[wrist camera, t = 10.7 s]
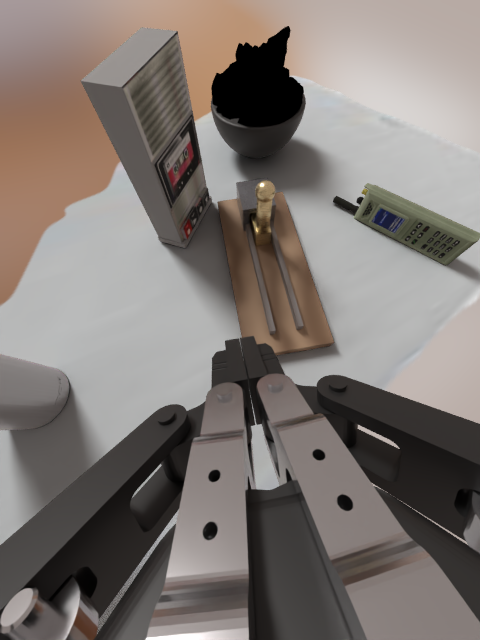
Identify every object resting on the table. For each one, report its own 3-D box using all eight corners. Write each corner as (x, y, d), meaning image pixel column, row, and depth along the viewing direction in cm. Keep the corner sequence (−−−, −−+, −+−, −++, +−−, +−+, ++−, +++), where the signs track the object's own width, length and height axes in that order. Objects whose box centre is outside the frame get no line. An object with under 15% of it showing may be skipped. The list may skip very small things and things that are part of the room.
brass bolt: (255, 248, 44) (257, 191, 33) (247, 215, 47) (246, 153, 36) (271, 245, 44) (278, 188, 33) (262, 213, 47) (265, 150, 36)
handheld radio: (444, 268, 43) (327, 208, 50) (450, 258, 45) (335, 200, 51) (477, 243, 37) (339, 178, 44) (483, 231, 38) (348, 169, 45)
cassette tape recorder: (187, 249, 47) (127, 89, 24) (160, 242, 48) (78, 81, 25) (213, 202, 52) (184, 31, 29) (188, 196, 53) (141, 26, 30)
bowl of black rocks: (227, 185, 54) (216, 75, 37) (209, 135, 62) (194, 24, 44) (308, 167, 55) (335, 53, 38) (281, 120, 63) (294, 7, 46)
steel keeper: (243, 231, 46) (242, 210, 41) (237, 204, 49) (236, 182, 44) (273, 226, 46) (276, 204, 41) (265, 200, 49) (267, 177, 44)
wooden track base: (246, 360, 38) (245, 355, 35) (218, 209, 51) (216, 195, 48) (330, 345, 38) (337, 339, 35) (281, 199, 52) (283, 184, 48)
